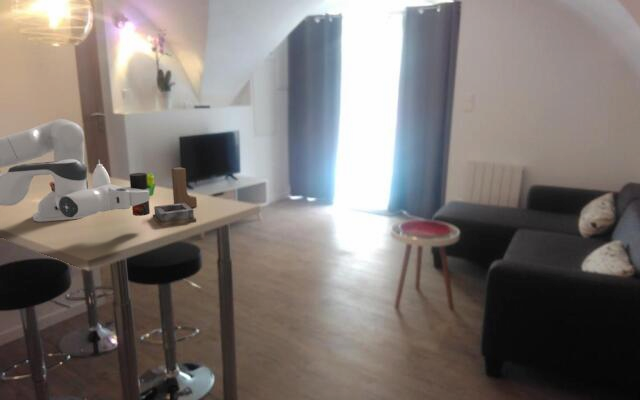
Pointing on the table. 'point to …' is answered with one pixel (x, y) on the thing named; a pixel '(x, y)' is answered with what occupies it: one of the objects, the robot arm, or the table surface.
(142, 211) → the deodorant
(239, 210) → the table surface
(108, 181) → the white teardrop ornament
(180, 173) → the wooden block
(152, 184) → the fruit basket
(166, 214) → the grey shallow box
